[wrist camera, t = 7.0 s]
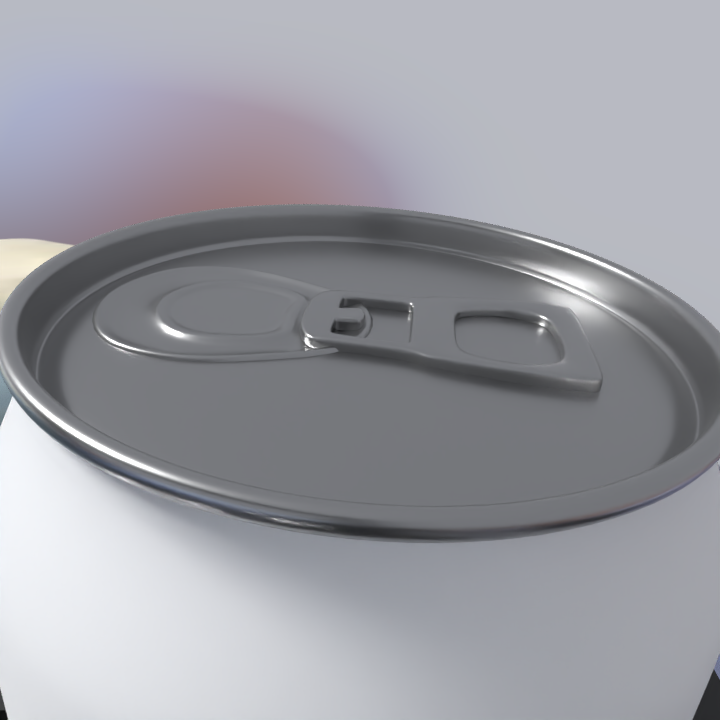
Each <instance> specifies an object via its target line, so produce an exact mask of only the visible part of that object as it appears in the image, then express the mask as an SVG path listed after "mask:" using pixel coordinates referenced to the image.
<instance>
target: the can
mask: <svg viewBox="0 0 720 720" xmlns="http://www.w3.org/2000/svg"><path fill="white" fill-rule="evenodd" d="M0 372H1V374H2V377H3V379H4V382H5V383H6V385H7V387H8V389H9V391H10V392H11V394H12V396H13V397H12V399H11V402H10V404H9V407H8V409H7V412H6V414H5V417H4V419H3V422H2V424H1V427H0V690H1V693H2V697H3V701H4V705H5V709H6V713H7V717H8V720H692V719H693V717H694V715H695V712H696V710H697V708H698V705H699V703H700V700H701V698H702V696H703V693H704V691H705V689H706V686H707V684H708V682H709V679H710V677H711V674H712V672H713V670H714V667H715V664H716V661H717V659H718V656H719V653H720V471H719V466H718V462H717V461H718V460H719V459H720V332H719V331H718V330H717V329H716V328H715V327H714V326H713V325H712V324H711V323H710V322H709V321H708V320H707V319H706V318H705V317H704V316H702V315H701V314H700V313H699V312H698V311H696V310H695V309H694V308H693V307H691V306H690V305H689V304H687V303H686V302H685V301H683V300H682V299H680V298H679V297H678V296H676V295H674V294H673V293H671V292H670V291H668V290H667V289H665V288H663V287H662V286H660V285H658V284H656V283H655V282H653V281H651V280H649V279H647V278H645V277H644V276H642V275H640V274H638V273H635V272H634V271H632V270H629V269H627V268H625V267H623V266H621V265H618V264H616V263H614V262H612V261H609V260H607V259H604V258H602V257H599V256H597V255H594V254H592V253H589V252H586V251H584V250H581V249H578V248H575V247H572V246H569V245H566V244H563V243H560V242H557V241H554V240H551V239H547V238H543V237H540V236H537V235H533V234H530V233H526V232H522V231H518V230H514V229H510V228H506V227H501V226H497V225H493V224H488V223H483V222H478V221H473V220H468V219H462V218H457V217H451V216H445V215H438V214H432V213H424V212H416V211H409V210H400V209H389V208H379V207H365V206H349V205H347V206H346V205H319V204H312V205H311V204H303V205H302V204H301V205H300V204H293V205H292V204H291V205H262V206H247V207H234V208H224V209H214V210H207V211H199V212H192V213H187V214H180V215H175V216H169V217H164V218H160V219H155V220H150V221H146V222H142V223H138V224H134V225H131V226H127V227H124V228H120V229H117V230H114V231H111V232H108V233H105V234H102V235H99V236H97V237H94V238H91V239H89V240H87V241H84V242H82V243H79V244H77V245H75V246H73V247H71V248H69V249H67V250H65V251H63V252H61V253H60V254H58V255H56V256H54V257H53V258H51V259H49V260H48V261H46V262H45V263H43V264H42V265H40V266H39V267H38V268H36V269H35V270H34V271H33V272H31V273H30V274H29V275H28V276H27V277H26V278H25V279H23V280H22V282H21V283H20V284H19V285H18V286H17V287H16V288H15V289H14V291H13V292H12V293H11V294H10V296H9V297H8V299H7V300H6V302H5V304H4V306H3V308H2V310H1V313H0Z"/></svg>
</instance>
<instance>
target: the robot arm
mask: <svg viewBox="0 0 720 720" xmlns="http://www.w3.org/2000/svg"><path fill="white" fill-rule="evenodd" d="M0 720H8V717H7V713H6V709H5V705H4V701H3V697H2V693H1V690H0ZM692 720H720V680H719V678H718V676H717V674H716V672H715V670H713V672H712V674H711V677H710V679H709V682H708V684H707V686H706V689H705V691H704V693H703V696H702V698H701V700H700V703H699V705H698V708H697V710H696V712H695V715H694V717H693V719H692Z"/></svg>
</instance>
